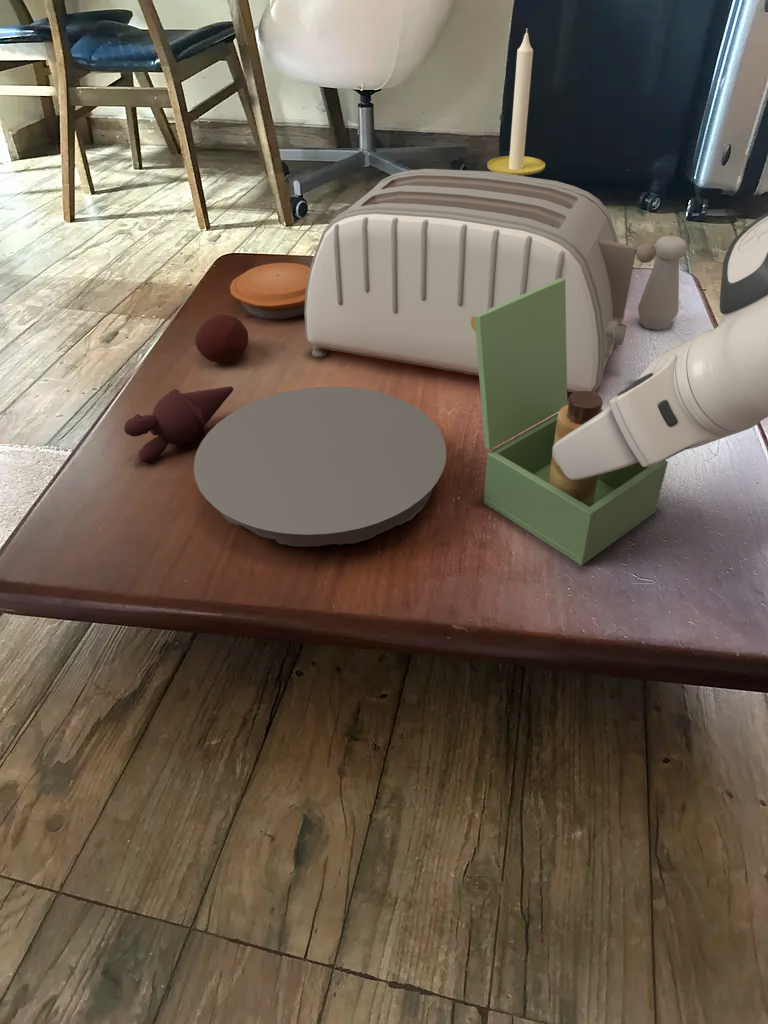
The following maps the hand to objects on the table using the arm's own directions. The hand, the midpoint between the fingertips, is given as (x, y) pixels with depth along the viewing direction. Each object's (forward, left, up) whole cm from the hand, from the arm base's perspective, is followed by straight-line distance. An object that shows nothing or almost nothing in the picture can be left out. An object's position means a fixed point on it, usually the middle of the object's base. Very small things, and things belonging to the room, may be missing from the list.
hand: (590, 438), depth 79 cm
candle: (+23, -50, -10) cm, 56 cm away
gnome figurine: (+48, +4, -10) cm, 49 cm away
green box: (+1, 0, -9) cm, 9 cm away
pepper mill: (+1, 0, -9) cm, 9 cm away
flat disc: (+28, +6, -10) cm, 30 cm away
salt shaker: (-1, -48, -10) cm, 49 cm away
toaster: (+22, -30, -10) cm, 38 cm away
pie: (+56, -34, -10) cm, 66 cm away
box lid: (+8, -3, +5) cm, 10 cm away
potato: (+55, -16, -10) cm, 58 cm away
